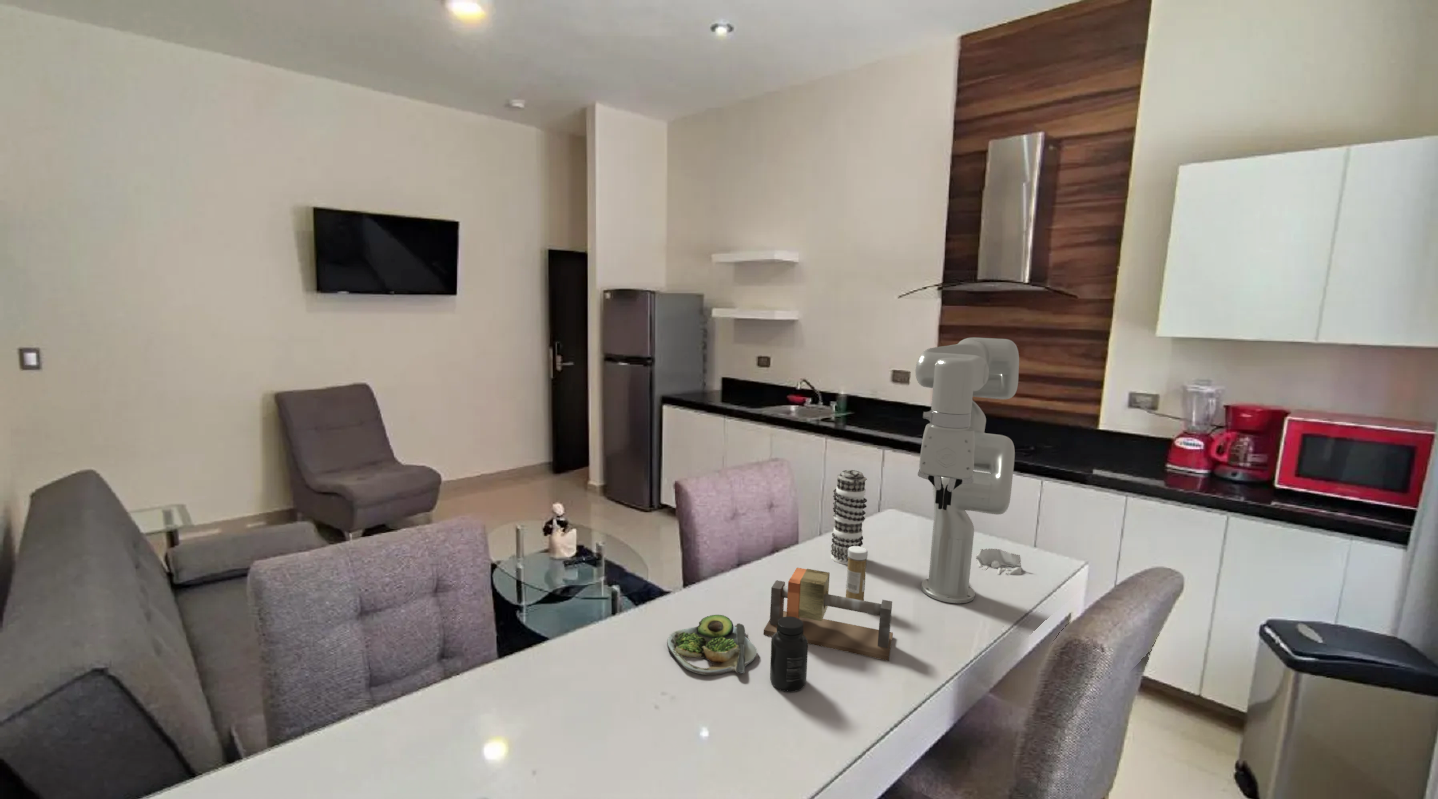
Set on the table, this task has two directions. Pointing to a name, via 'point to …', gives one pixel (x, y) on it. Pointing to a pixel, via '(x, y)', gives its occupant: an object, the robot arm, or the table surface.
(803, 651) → the supplement bottle
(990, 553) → the grey relief sculpture
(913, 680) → the table surface
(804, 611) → the sleeve
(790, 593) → the orange rectangular slab
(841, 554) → the decorative candle
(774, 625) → the machine model on base
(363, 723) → the table surface
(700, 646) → the avocado toast plate
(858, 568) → the sprinkles bottle
